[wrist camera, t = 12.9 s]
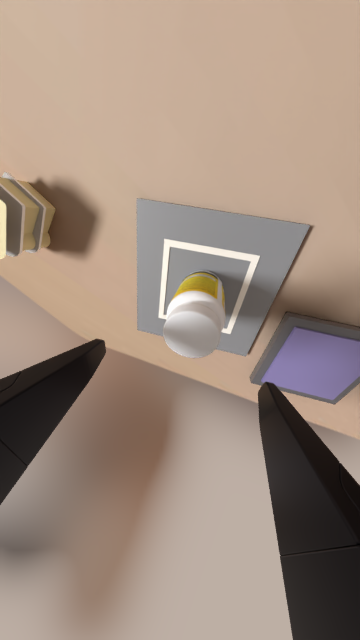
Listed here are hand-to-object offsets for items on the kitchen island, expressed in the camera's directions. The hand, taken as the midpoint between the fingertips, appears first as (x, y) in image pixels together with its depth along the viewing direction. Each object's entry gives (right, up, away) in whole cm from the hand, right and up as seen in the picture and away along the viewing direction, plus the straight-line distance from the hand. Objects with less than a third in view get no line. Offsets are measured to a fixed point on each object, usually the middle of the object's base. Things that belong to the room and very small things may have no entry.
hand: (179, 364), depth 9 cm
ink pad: (+16, -2, +11) cm, 20 cm away
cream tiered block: (-17, +14, +10) cm, 24 cm away
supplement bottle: (+2, +6, +9) cm, 11 cm away
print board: (+2, +6, +10) cm, 12 cm away
